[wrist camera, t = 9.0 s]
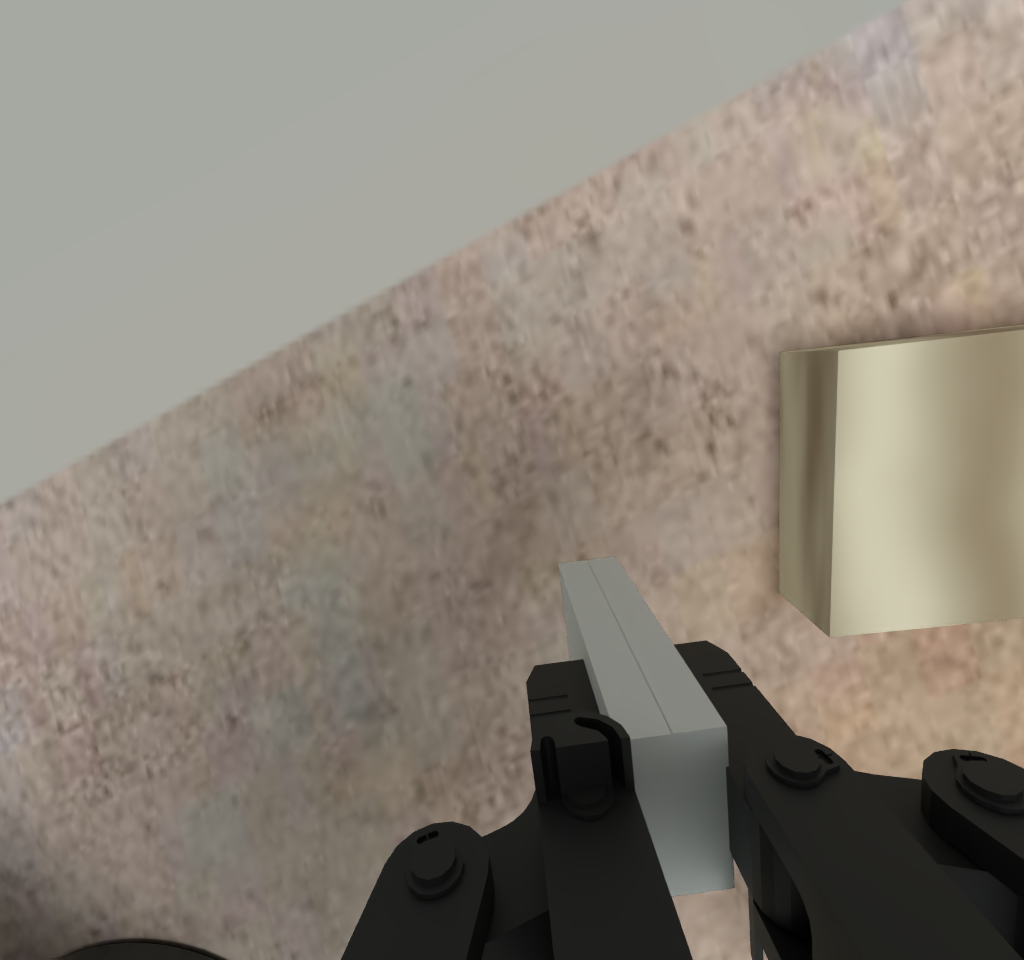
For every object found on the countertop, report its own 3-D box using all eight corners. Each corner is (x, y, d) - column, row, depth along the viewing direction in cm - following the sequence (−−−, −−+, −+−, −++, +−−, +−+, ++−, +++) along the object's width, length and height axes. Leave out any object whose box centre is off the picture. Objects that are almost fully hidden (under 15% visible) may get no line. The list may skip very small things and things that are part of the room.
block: (774, 588, 22) (829, 637, 19) (775, 352, 20) (838, 350, 16) (1009, 564, 22) (1116, 608, 18) (1037, 322, 20) (1165, 313, 16)
